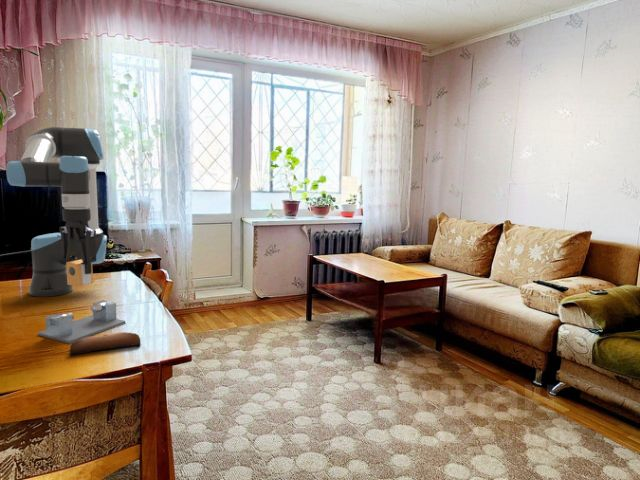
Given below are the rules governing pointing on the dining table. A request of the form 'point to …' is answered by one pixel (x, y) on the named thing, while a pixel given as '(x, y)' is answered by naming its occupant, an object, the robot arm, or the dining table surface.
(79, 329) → the board
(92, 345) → the sunglasses case
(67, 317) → the shaft stands
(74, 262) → the coupler
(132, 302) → the dining table surface
